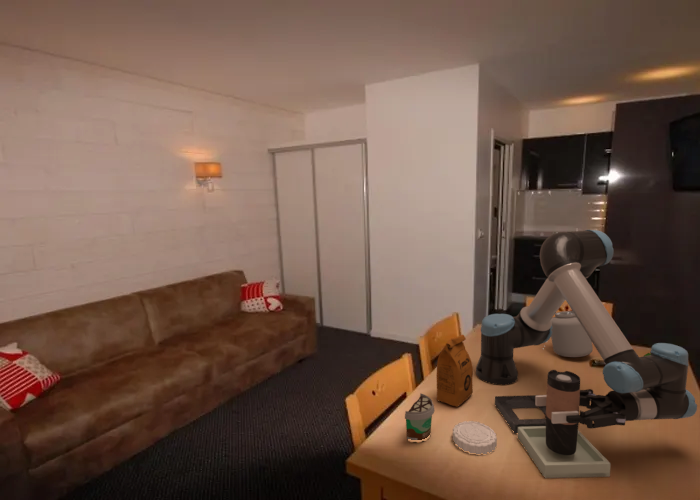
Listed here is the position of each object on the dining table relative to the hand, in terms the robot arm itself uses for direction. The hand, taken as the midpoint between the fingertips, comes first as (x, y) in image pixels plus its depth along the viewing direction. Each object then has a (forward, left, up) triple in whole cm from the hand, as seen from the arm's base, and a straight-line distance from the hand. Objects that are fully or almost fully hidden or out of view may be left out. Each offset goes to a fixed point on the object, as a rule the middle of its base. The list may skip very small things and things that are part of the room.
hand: (543, 409), depth 102 cm
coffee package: (-31, +15, -14) cm, 37 cm away
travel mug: (+4, +3, -11) cm, 12 cm away
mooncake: (-17, -4, -14) cm, 22 cm away
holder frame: (-7, +17, -14) cm, 23 cm away
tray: (+4, +3, -14) cm, 15 cm away
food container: (-30, -10, -14) cm, 35 cm away
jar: (-7, +77, -14) cm, 78 cm away
